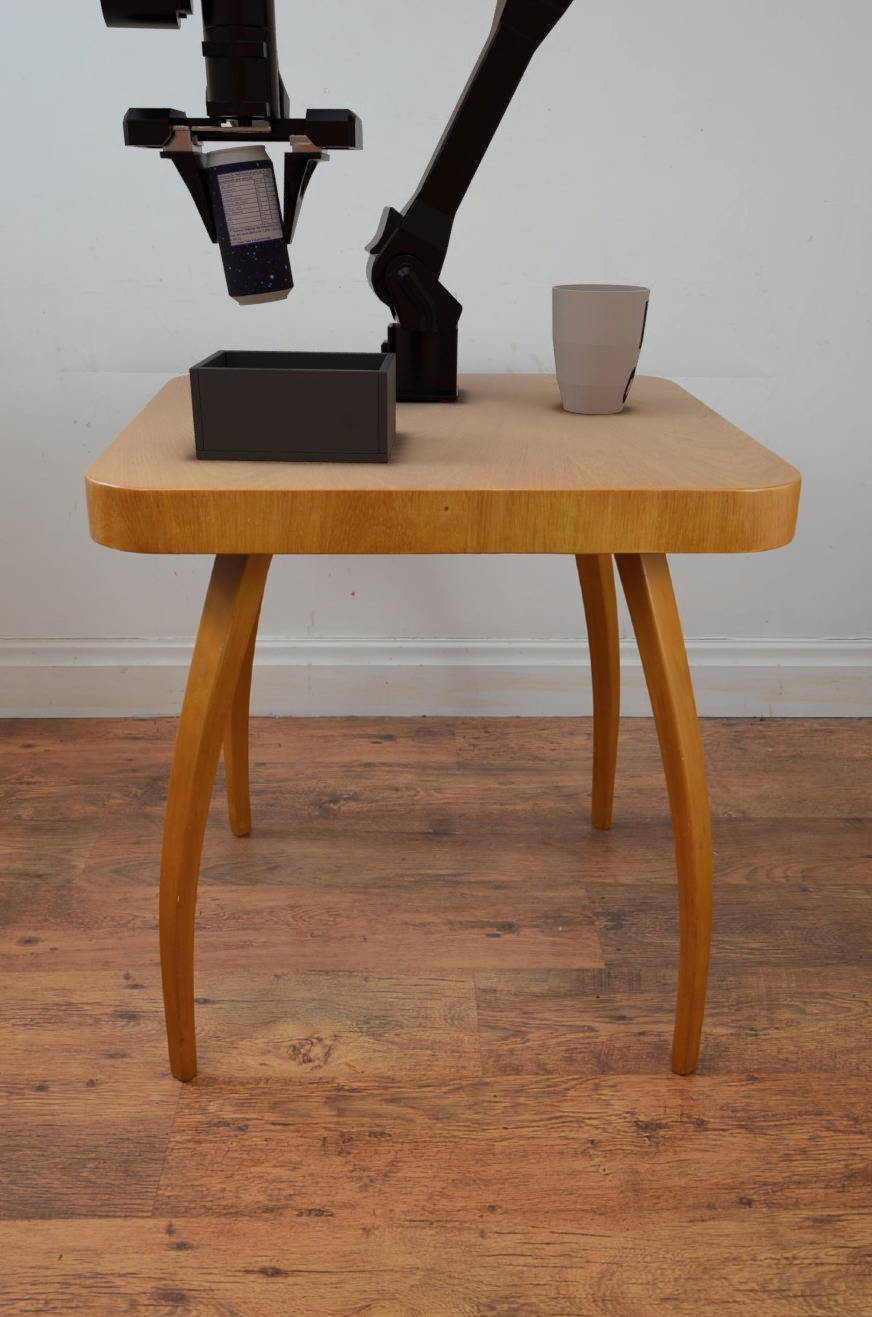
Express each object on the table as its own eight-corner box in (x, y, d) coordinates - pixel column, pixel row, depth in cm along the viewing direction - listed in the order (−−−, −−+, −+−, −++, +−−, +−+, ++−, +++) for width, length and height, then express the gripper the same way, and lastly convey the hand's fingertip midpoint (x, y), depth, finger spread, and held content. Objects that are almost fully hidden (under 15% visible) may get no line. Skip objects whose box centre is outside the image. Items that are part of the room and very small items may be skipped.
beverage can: (307, 294, 92) (281, 144, 87) (276, 302, 87) (248, 143, 82) (251, 300, 94) (224, 154, 89) (218, 308, 89) (187, 154, 84)
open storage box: (395, 434, 80) (395, 352, 77) (387, 462, 71) (387, 371, 69) (224, 431, 80) (218, 349, 77) (196, 459, 71) (188, 368, 69)
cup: (653, 416, 88) (664, 291, 84) (559, 418, 86) (567, 291, 82) (621, 399, 95) (631, 283, 91) (535, 401, 94) (541, 283, 90)
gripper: (368, 45, 89) (371, 241, 95) (153, 44, 90) (171, 239, 96) (352, 25, 79) (356, 246, 85) (110, 25, 80) (132, 244, 86)
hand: (252, 243), depth 88 cm, fingers closed on beverage can, 6 cm apart
